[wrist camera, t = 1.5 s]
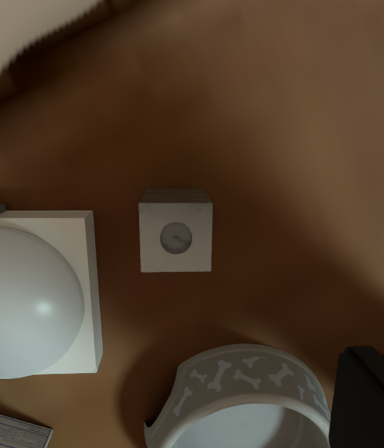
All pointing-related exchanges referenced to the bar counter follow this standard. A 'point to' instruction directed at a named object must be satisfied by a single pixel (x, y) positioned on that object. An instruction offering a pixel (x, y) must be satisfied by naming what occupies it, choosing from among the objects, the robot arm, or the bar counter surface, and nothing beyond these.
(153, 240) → the grey block with knob
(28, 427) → the medicine box
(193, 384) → the dog bowl
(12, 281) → the scale
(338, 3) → the bar counter surface
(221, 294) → the bar counter surface
